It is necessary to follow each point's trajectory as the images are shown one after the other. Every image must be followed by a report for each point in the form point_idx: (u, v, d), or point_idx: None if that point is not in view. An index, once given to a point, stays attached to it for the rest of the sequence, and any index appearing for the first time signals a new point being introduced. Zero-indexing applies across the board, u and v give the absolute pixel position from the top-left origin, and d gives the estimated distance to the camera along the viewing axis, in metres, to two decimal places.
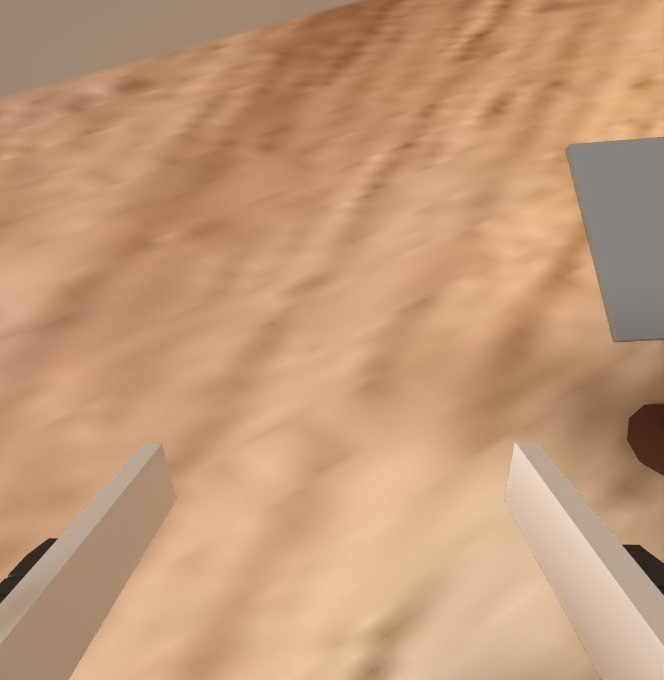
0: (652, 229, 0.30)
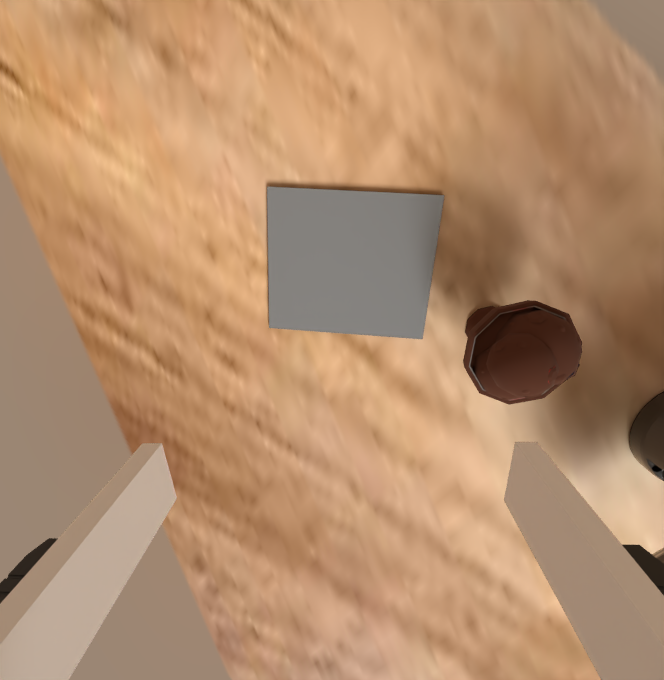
0: (346, 293, 0.41)
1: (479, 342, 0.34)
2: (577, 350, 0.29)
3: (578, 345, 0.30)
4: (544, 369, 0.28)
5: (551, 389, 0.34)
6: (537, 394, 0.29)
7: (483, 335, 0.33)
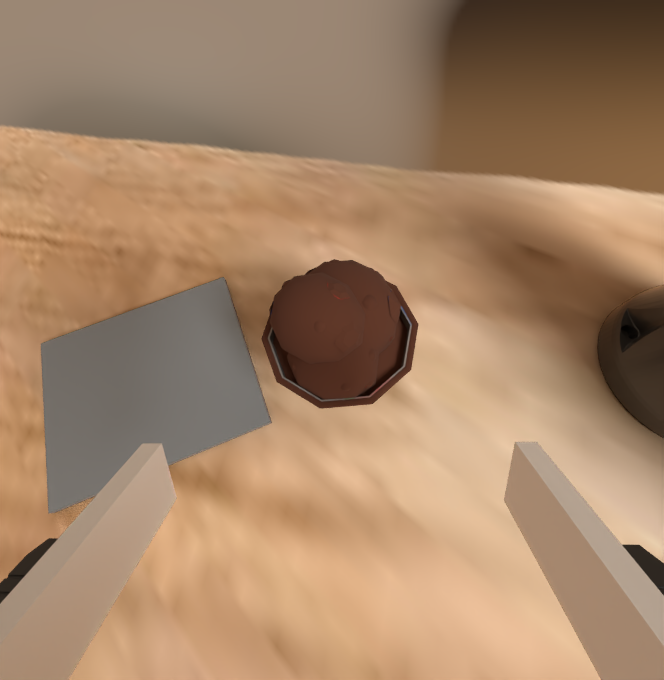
0: (152, 411, 0.31)
1: None
2: (366, 269, 0.22)
3: (367, 267, 0.22)
4: (318, 283, 0.19)
5: (409, 353, 0.22)
6: (344, 326, 0.18)
7: None
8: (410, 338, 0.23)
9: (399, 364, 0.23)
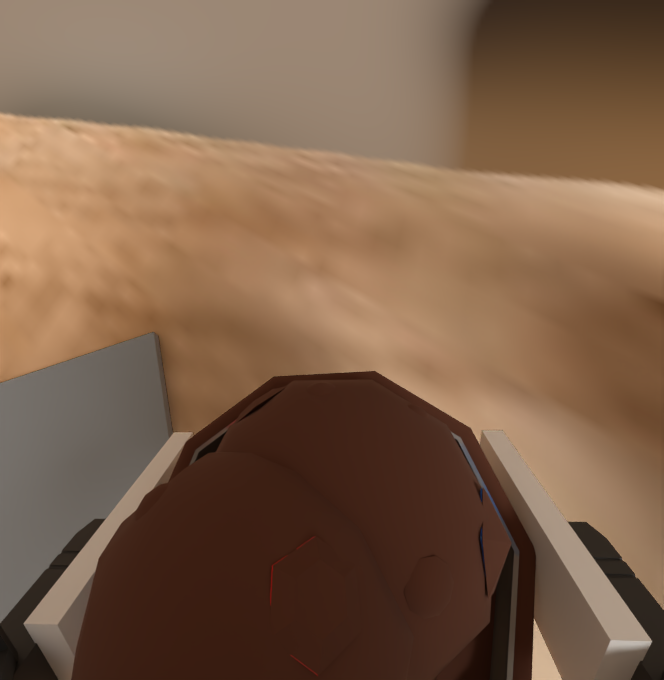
0: None
1: None
2: (411, 432, 0.07)
3: (412, 417, 0.08)
4: (231, 580, 0.05)
5: (522, 655, 0.08)
6: None
7: None
8: (519, 599, 0.08)
9: (486, 663, 0.09)
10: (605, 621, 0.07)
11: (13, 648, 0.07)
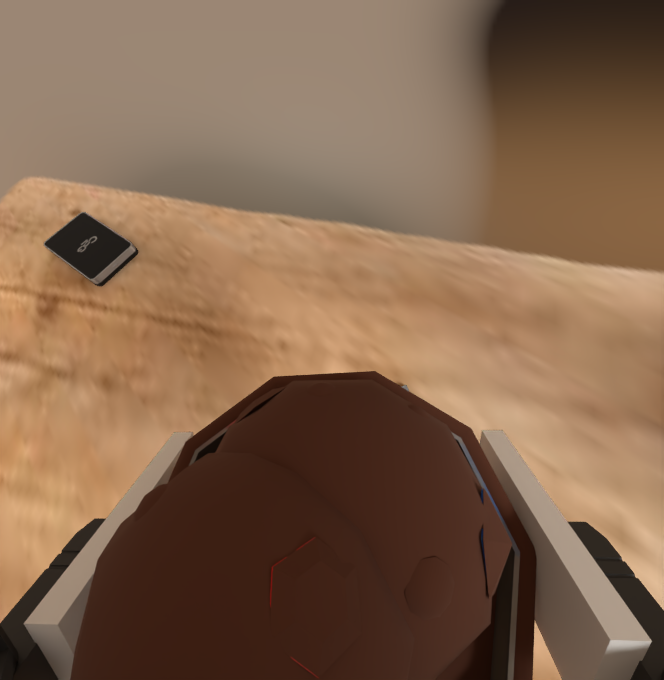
0: None
1: None
2: (412, 432, 0.07)
3: (412, 417, 0.08)
4: (231, 582, 0.04)
5: (522, 656, 0.08)
6: None
7: None
8: (520, 600, 0.08)
9: (487, 664, 0.09)
10: (605, 621, 0.07)
11: (13, 648, 0.07)
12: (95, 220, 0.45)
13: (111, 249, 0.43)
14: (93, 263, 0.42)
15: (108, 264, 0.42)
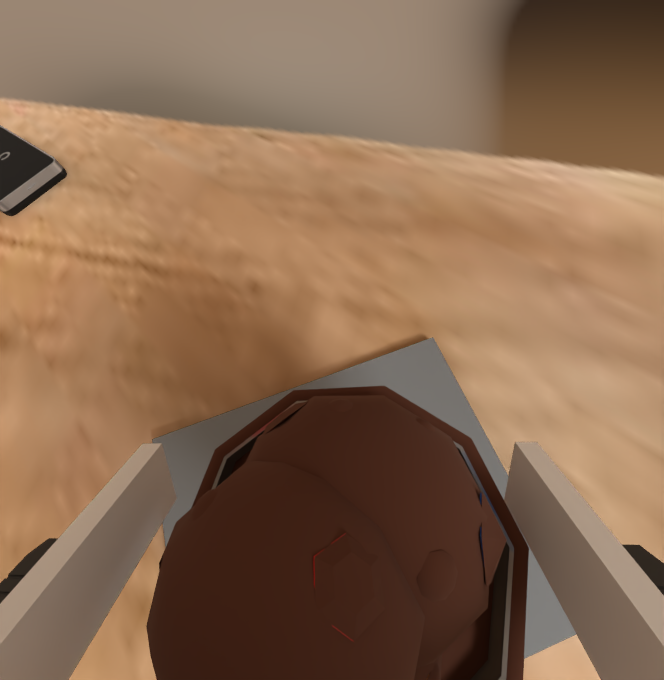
0: None
1: None
2: (421, 444, 0.08)
3: (420, 430, 0.09)
4: (282, 567, 0.06)
5: (515, 637, 0.09)
6: None
7: None
8: (513, 590, 0.10)
9: (484, 646, 0.10)
10: None
11: None
12: (11, 133, 0.34)
13: (27, 167, 0.32)
14: (0, 184, 0.31)
15: (20, 184, 0.31)
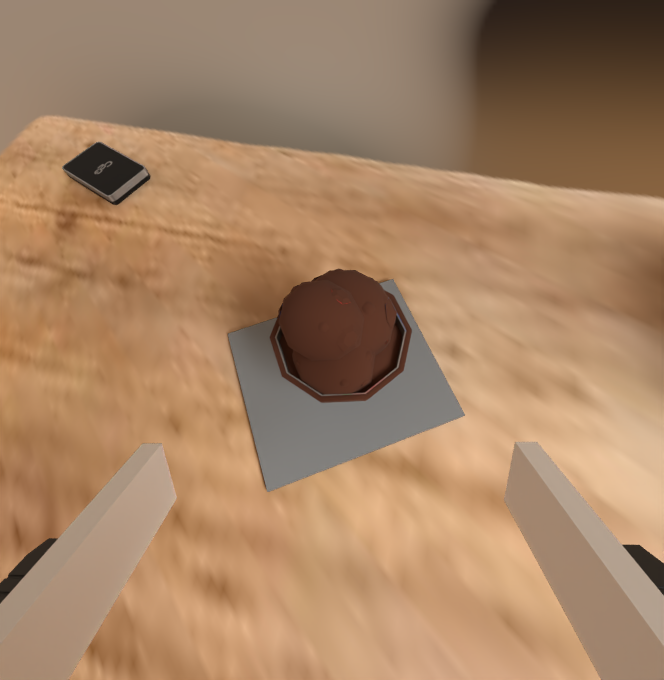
0: None
1: (289, 345, 0.26)
2: (367, 278, 0.24)
3: (368, 277, 0.25)
4: (323, 289, 0.21)
5: (403, 355, 0.25)
6: (344, 328, 0.21)
7: None
8: (404, 342, 0.25)
9: (393, 366, 0.25)
10: None
11: None
12: (110, 148, 0.49)
13: (126, 172, 0.47)
14: (109, 183, 0.46)
15: (123, 183, 0.46)
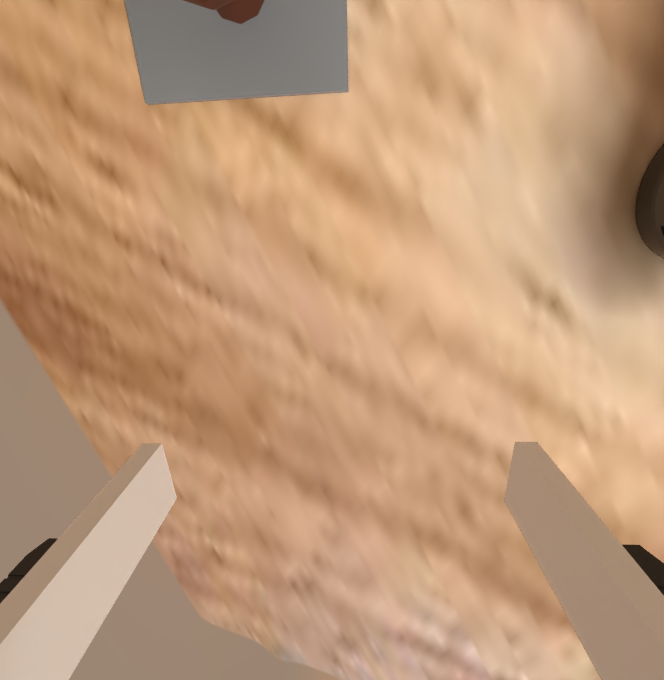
0: (236, 27, 0.30)
1: None
2: None
3: None
4: None
5: None
6: None
7: None
8: None
9: None
10: None
11: None
12: None
13: None
14: None
15: None
